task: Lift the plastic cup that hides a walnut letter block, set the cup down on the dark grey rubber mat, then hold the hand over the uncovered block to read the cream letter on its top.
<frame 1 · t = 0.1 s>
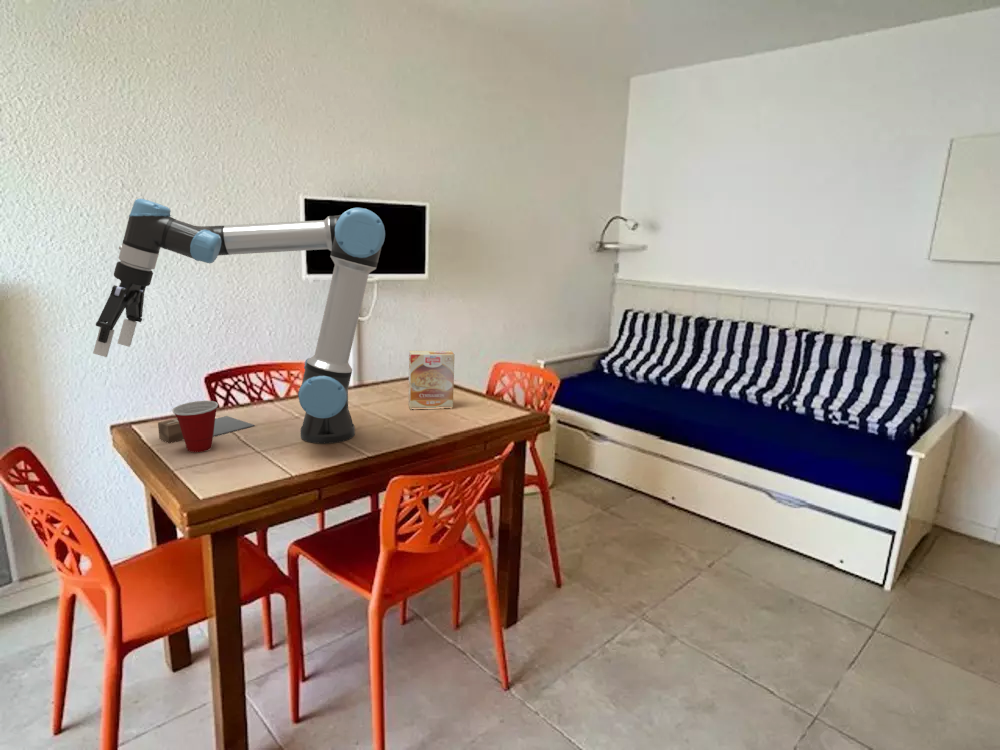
hand: (112, 349, 141), 28 cm above the table, tool tilted 20°, fingers open, 13 cm apart
coffeecake box: (430, 407, 205), on the table
letter block: (173, 439, 163), on the table
plastic cup: (198, 449, 156), on the table
mat: (219, 426, 174), on the table
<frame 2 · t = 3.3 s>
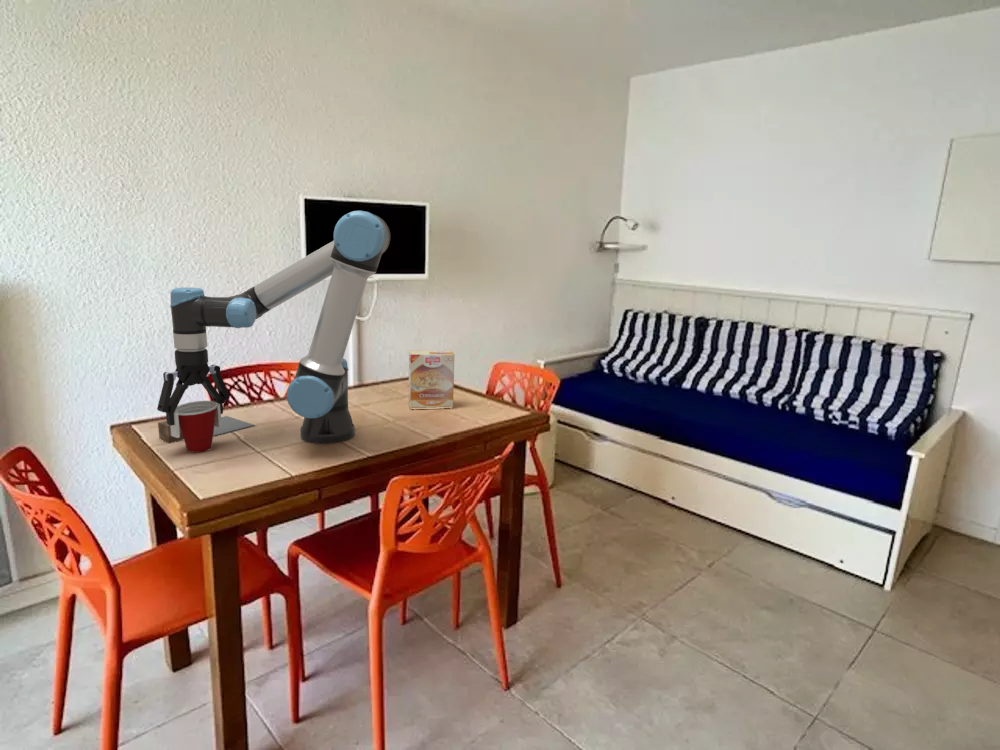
hand: (197, 431, 155), 5 cm above the table, tool pointing down, fingers closed on plastic cup, 11 cm apart
plastic cup: (198, 449, 156), on the table, touching gripper
everything else where it was.
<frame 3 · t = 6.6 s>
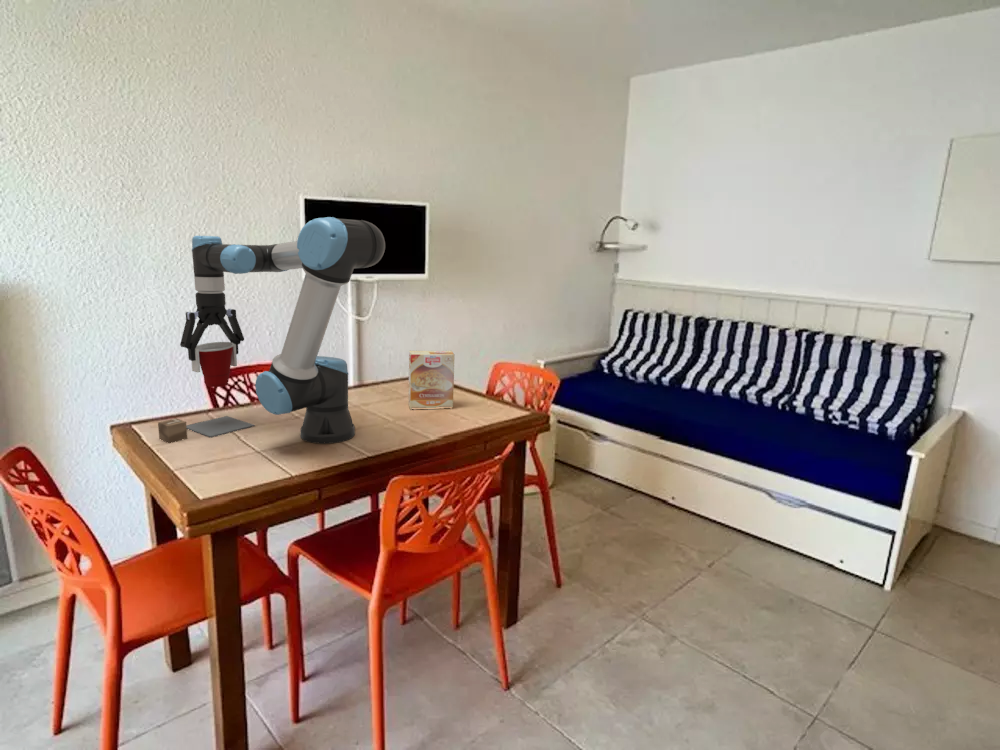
hand: (215, 368, 170), 18 cm above the table, tool pointing down, fingers closed on plastic cup, 11 cm apart
plastic cup: (216, 385, 172), point 13 cm above the table, touching gripper
everything else where it was.
when the fingers open (6 cm above the table, at t = 10.2 s): plastic cup stays where it is, resting on mat.
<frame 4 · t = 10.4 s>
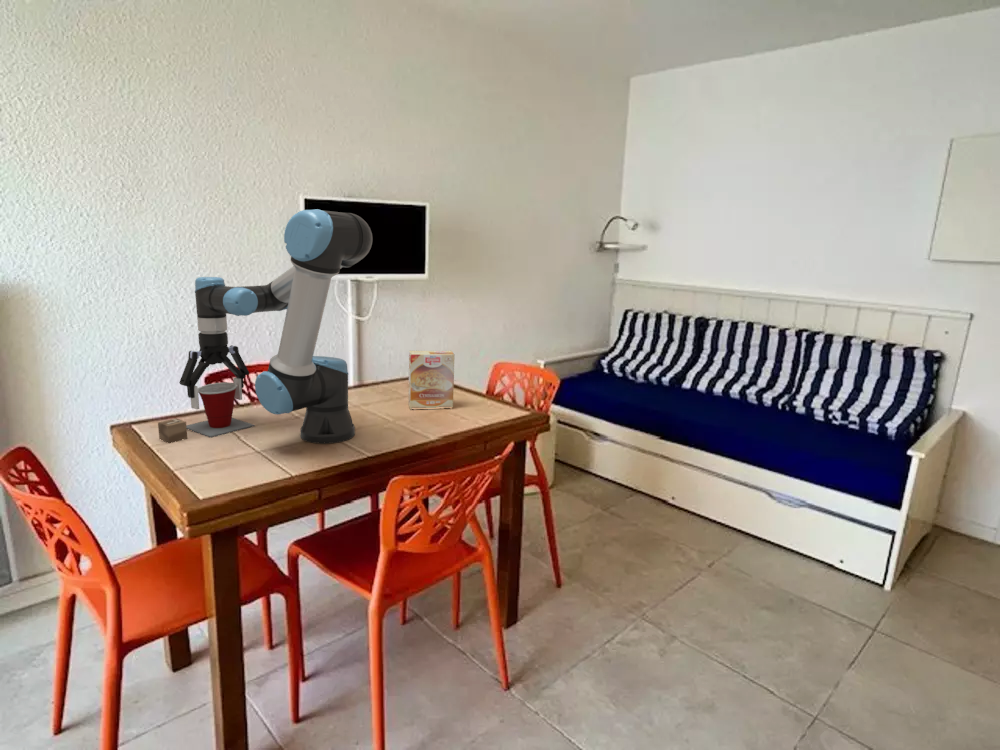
hand: (217, 403, 173), 7 cm above the table, tool pointing down, fingers open, 13 cm apart
plastic cup: (219, 426, 174), resting on mat
everything else where it was.
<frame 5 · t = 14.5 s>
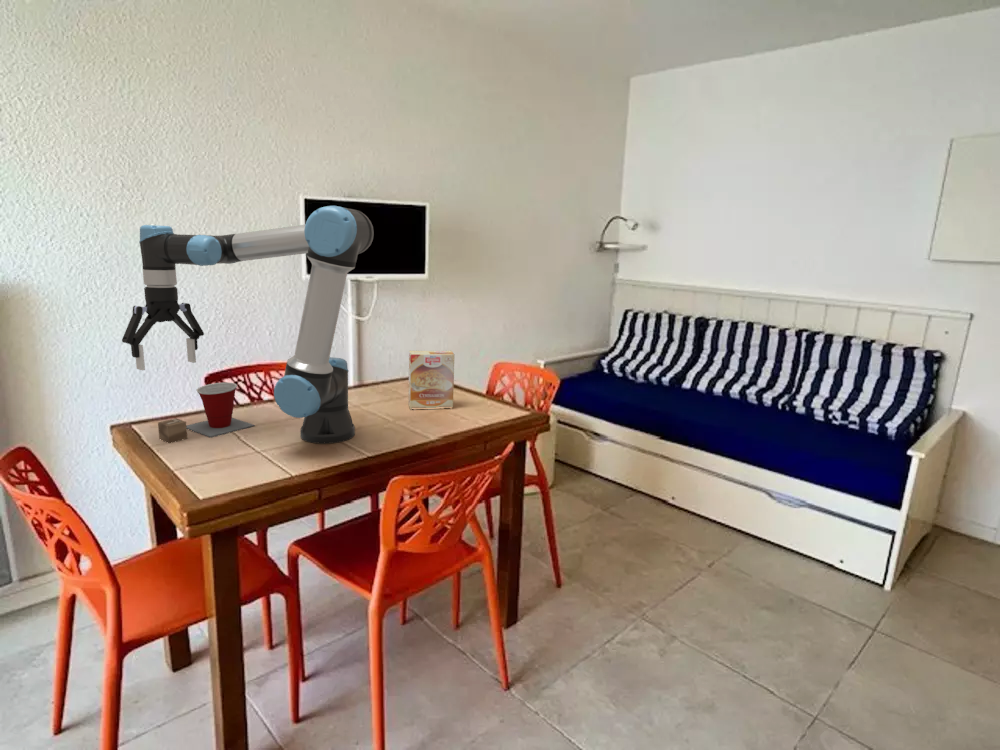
hand: (167, 365, 158), 21 cm above the table, tool pointing down, fingers open, 13 cm apart
nothing on the table moved.
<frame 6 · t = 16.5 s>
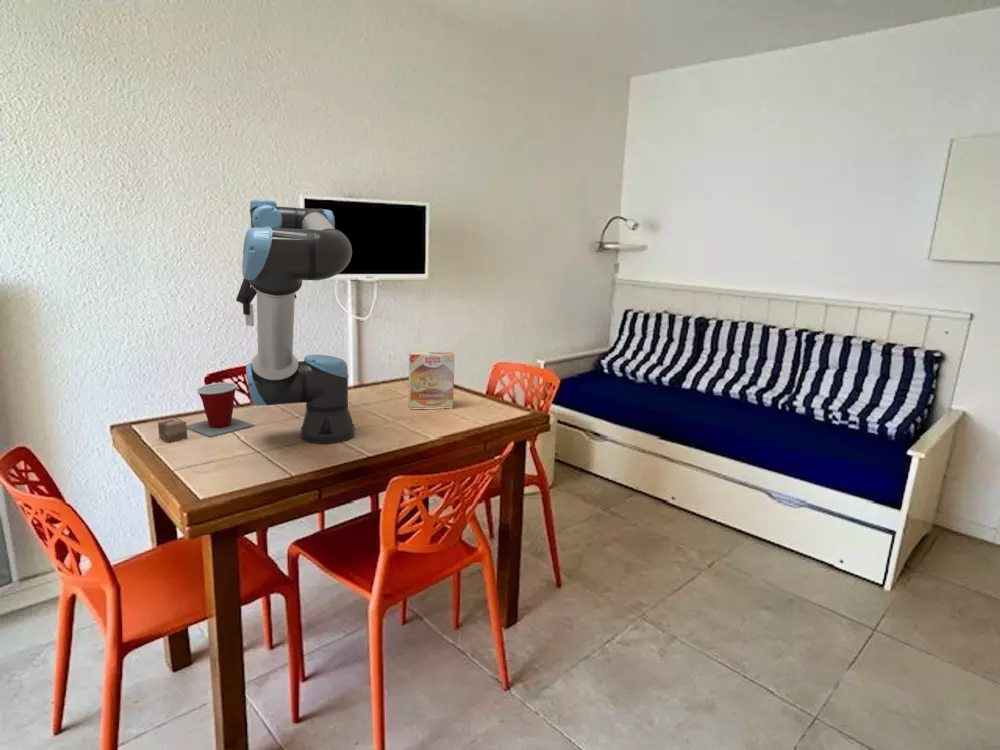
hand: (268, 323, 181), 29 cm above the table, tool pointing down, fingers open, 13 cm apart
nothing on the table moved.
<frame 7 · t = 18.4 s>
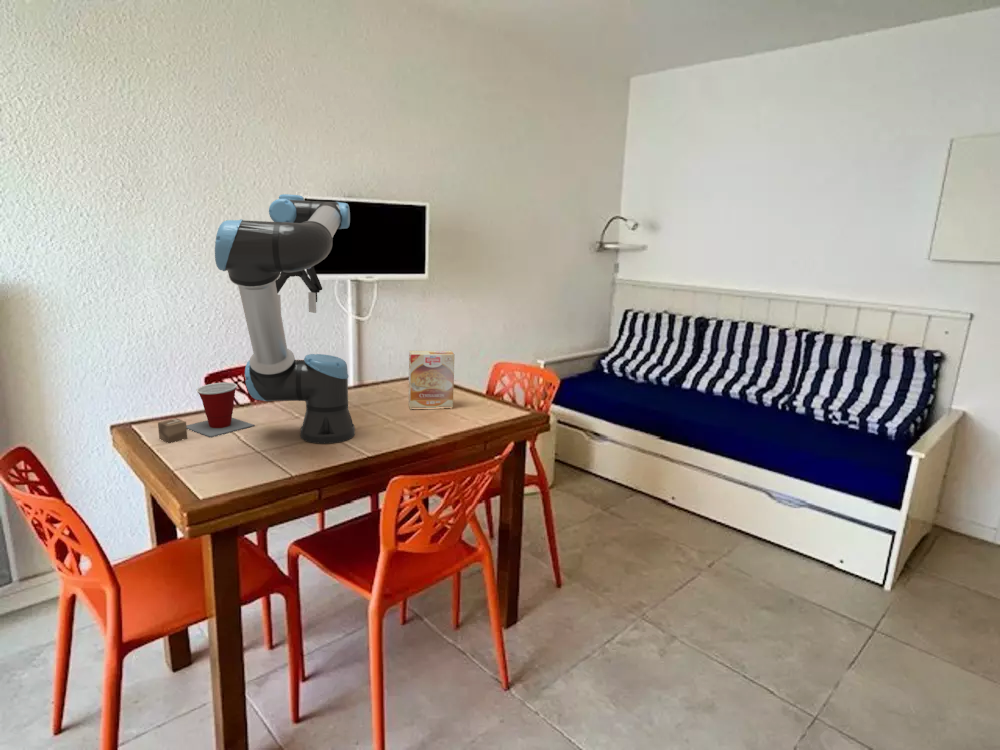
hand: (295, 314, 189), 32 cm above the table, tool pointing down, fingers open, 13 cm apart
nothing on the table moved.
at the end: plastic cup inside the target area on the mat (0.1 cm from its centre), point 0.2 cm above the mat's base; plastic cup tilted 0°; letter block moved 0.1 cm from its start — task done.
